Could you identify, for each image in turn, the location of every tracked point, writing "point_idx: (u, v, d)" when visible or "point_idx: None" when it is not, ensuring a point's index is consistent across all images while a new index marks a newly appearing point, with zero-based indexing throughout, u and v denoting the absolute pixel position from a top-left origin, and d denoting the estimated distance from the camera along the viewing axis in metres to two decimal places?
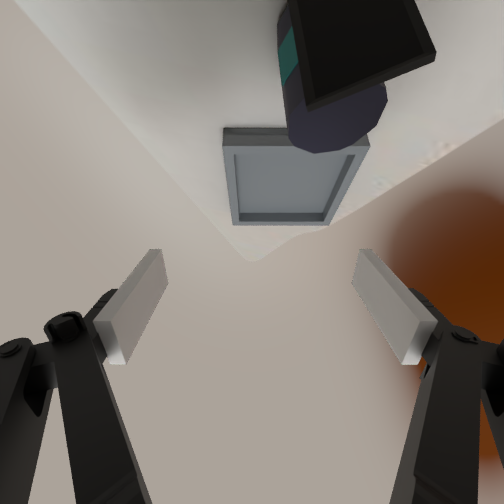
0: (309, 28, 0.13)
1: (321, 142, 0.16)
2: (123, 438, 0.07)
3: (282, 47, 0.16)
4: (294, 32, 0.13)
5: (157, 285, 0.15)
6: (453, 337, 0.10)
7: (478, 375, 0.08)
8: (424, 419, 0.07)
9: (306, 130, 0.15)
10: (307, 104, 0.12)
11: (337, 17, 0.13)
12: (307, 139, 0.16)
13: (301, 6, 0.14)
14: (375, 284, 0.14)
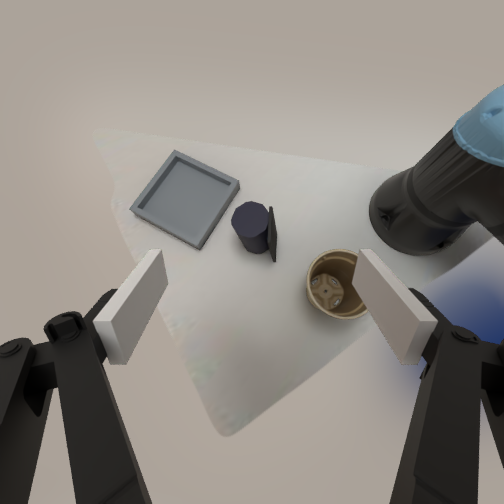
0: (273, 226, 0.39)
1: (241, 212, 0.36)
2: (123, 438, 0.07)
3: None
4: (274, 222, 0.39)
5: (157, 285, 0.15)
6: (453, 337, 0.10)
7: (478, 375, 0.08)
8: (424, 419, 0.07)
9: (251, 208, 0.36)
10: None
11: (273, 234, 0.38)
12: (246, 207, 0.36)
13: (274, 230, 0.41)
14: (375, 284, 0.14)
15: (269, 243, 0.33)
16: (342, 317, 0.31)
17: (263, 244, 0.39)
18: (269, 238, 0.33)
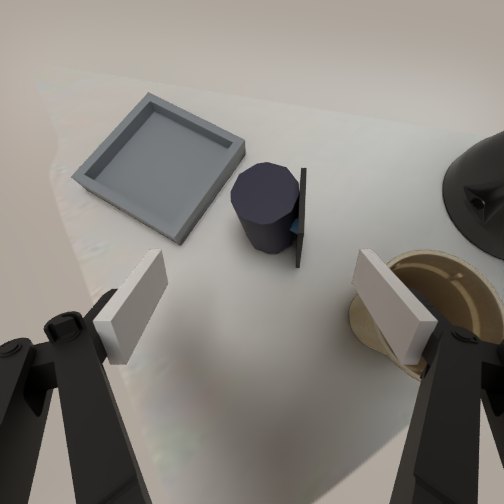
0: None
1: (248, 181, 0.21)
2: (123, 438, 0.07)
3: None
4: None
5: (157, 285, 0.15)
6: (453, 337, 0.10)
7: (478, 375, 0.08)
8: (424, 419, 0.07)
9: (266, 174, 0.21)
10: None
11: None
12: (257, 173, 0.21)
13: None
14: (375, 284, 0.14)
15: (301, 235, 0.17)
16: None
17: (282, 238, 0.24)
18: (301, 225, 0.17)
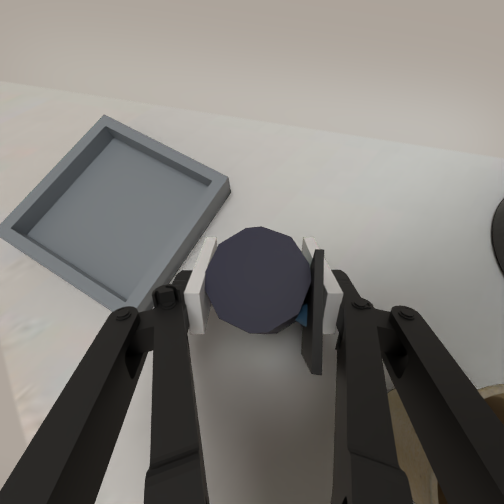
0: None
1: (232, 256, 0.14)
2: (193, 410, 0.07)
3: None
4: None
5: None
6: (353, 308, 0.11)
7: (376, 335, 0.10)
8: (346, 391, 0.08)
9: (260, 246, 0.13)
10: (323, 251, 0.11)
11: None
12: (247, 244, 0.14)
13: None
14: None
15: None
16: None
17: (284, 326, 0.16)
18: (317, 359, 0.10)
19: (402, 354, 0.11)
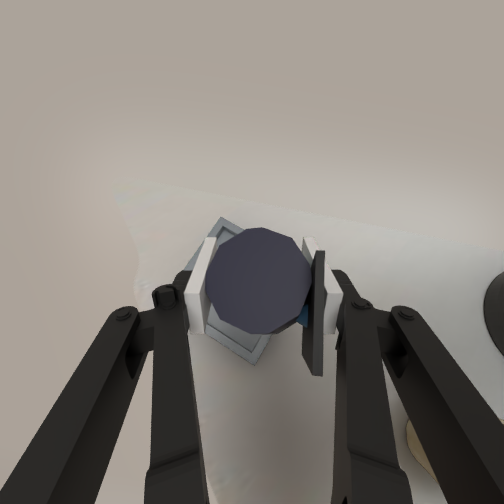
0: None
1: (232, 257, 0.14)
2: (193, 410, 0.07)
3: None
4: None
5: None
6: (353, 308, 0.11)
7: (376, 335, 0.10)
8: (346, 391, 0.08)
9: (260, 247, 0.13)
10: (324, 253, 0.11)
11: None
12: (247, 244, 0.14)
13: None
14: (310, 267, 0.16)
15: None
16: None
17: (284, 327, 0.16)
18: (318, 360, 0.10)
19: (402, 354, 0.11)
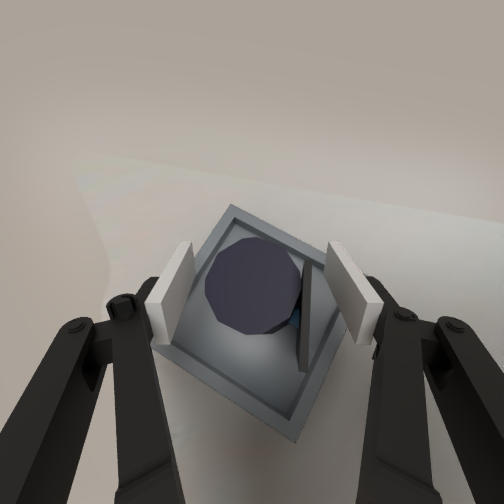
0: None
1: (230, 264, 0.15)
2: (162, 419, 0.07)
3: None
4: None
5: (189, 275, 0.16)
6: (396, 317, 0.11)
7: (419, 349, 0.09)
8: (380, 400, 0.08)
9: (255, 255, 0.15)
10: (311, 262, 0.13)
11: None
12: (243, 253, 0.15)
13: None
14: (339, 273, 0.15)
15: None
16: None
17: (278, 328, 0.18)
18: (304, 359, 0.11)
19: (446, 368, 0.11)
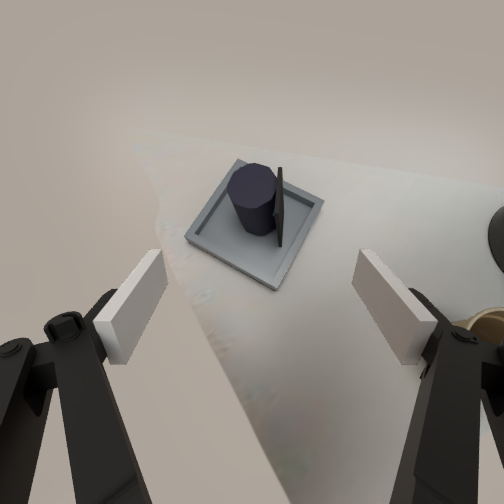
0: (281, 199, 0.30)
1: (240, 177, 0.28)
2: (123, 438, 0.07)
3: None
4: None
5: (157, 285, 0.15)
6: (453, 337, 0.10)
7: (478, 375, 0.08)
8: (424, 419, 0.07)
9: (254, 172, 0.28)
10: (281, 168, 0.26)
11: None
12: (247, 171, 0.28)
13: (282, 206, 0.32)
14: (375, 284, 0.14)
15: (276, 215, 0.24)
16: None
17: (267, 222, 0.31)
18: (277, 208, 0.24)
19: None
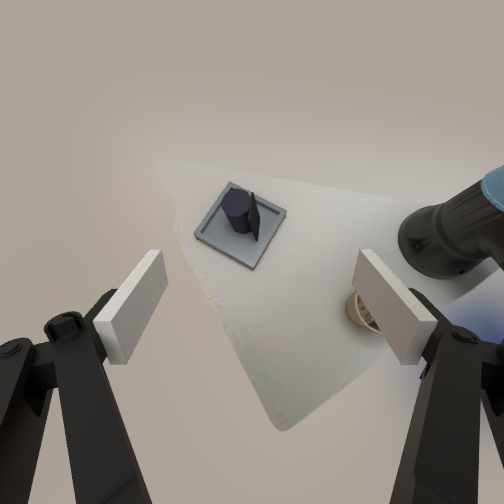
0: (256, 210, 0.47)
1: (229, 197, 0.45)
2: (123, 438, 0.07)
3: None
4: (257, 207, 0.47)
5: (157, 285, 0.15)
6: (453, 337, 0.10)
7: (478, 375, 0.08)
8: (424, 419, 0.07)
9: (237, 194, 0.45)
10: (253, 193, 0.43)
11: (255, 216, 0.46)
12: (233, 193, 0.45)
13: (257, 214, 0.49)
14: (375, 284, 0.14)
15: (249, 221, 0.41)
16: None
17: (247, 225, 0.48)
18: (249, 217, 0.41)
19: None
